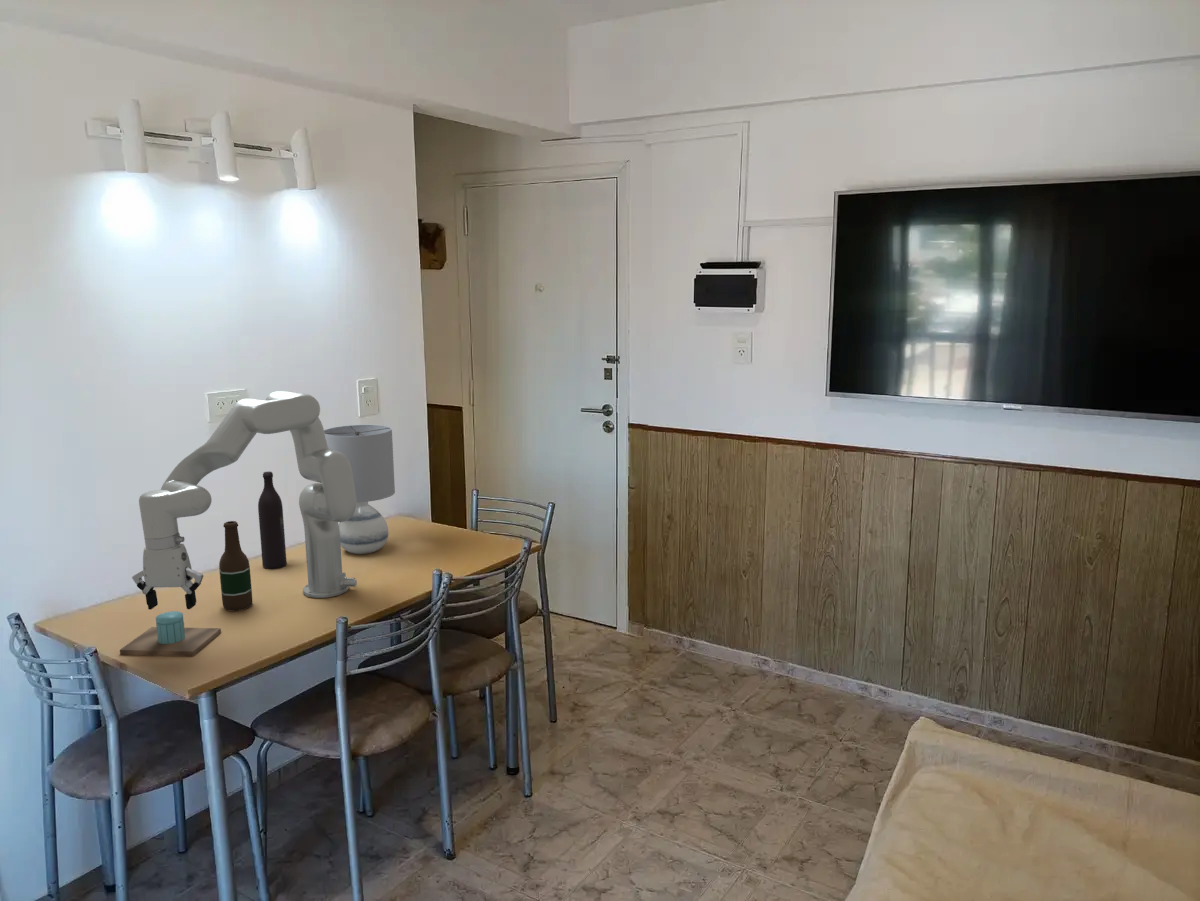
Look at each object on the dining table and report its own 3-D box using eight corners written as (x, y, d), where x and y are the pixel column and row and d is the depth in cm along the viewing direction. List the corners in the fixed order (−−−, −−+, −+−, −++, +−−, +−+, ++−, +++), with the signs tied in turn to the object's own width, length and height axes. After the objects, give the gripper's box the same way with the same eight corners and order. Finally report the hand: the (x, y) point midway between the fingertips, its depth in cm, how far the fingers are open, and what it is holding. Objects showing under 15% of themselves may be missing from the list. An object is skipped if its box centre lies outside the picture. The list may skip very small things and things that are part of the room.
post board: (221, 632, 223) (219, 611, 222) (193, 656, 209) (191, 633, 208) (152, 631, 224) (149, 609, 223) (120, 654, 210) (117, 631, 209)
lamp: (315, 553, 286) (307, 432, 278) (365, 536, 304) (358, 422, 296) (362, 564, 275) (355, 438, 267) (411, 546, 293) (405, 428, 285)
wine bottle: (287, 567, 272) (280, 473, 266) (262, 570, 270) (255, 475, 264) (286, 561, 279) (279, 469, 273) (262, 563, 276) (255, 471, 270)
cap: (166, 633, 219) (164, 611, 218) (189, 634, 219) (187, 611, 218) (153, 643, 213) (150, 620, 212) (177, 644, 213) (174, 620, 212)
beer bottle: (234, 613, 235) (226, 527, 231) (216, 607, 239) (208, 523, 235) (259, 604, 242) (252, 520, 237) (241, 599, 246) (234, 516, 241)
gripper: (204, 536, 215) (213, 601, 219) (136, 536, 216) (146, 601, 220) (189, 546, 207) (198, 613, 211) (118, 546, 208) (129, 613, 212)
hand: (172, 607), depth 215 cm, fingers open, 9 cm apart
